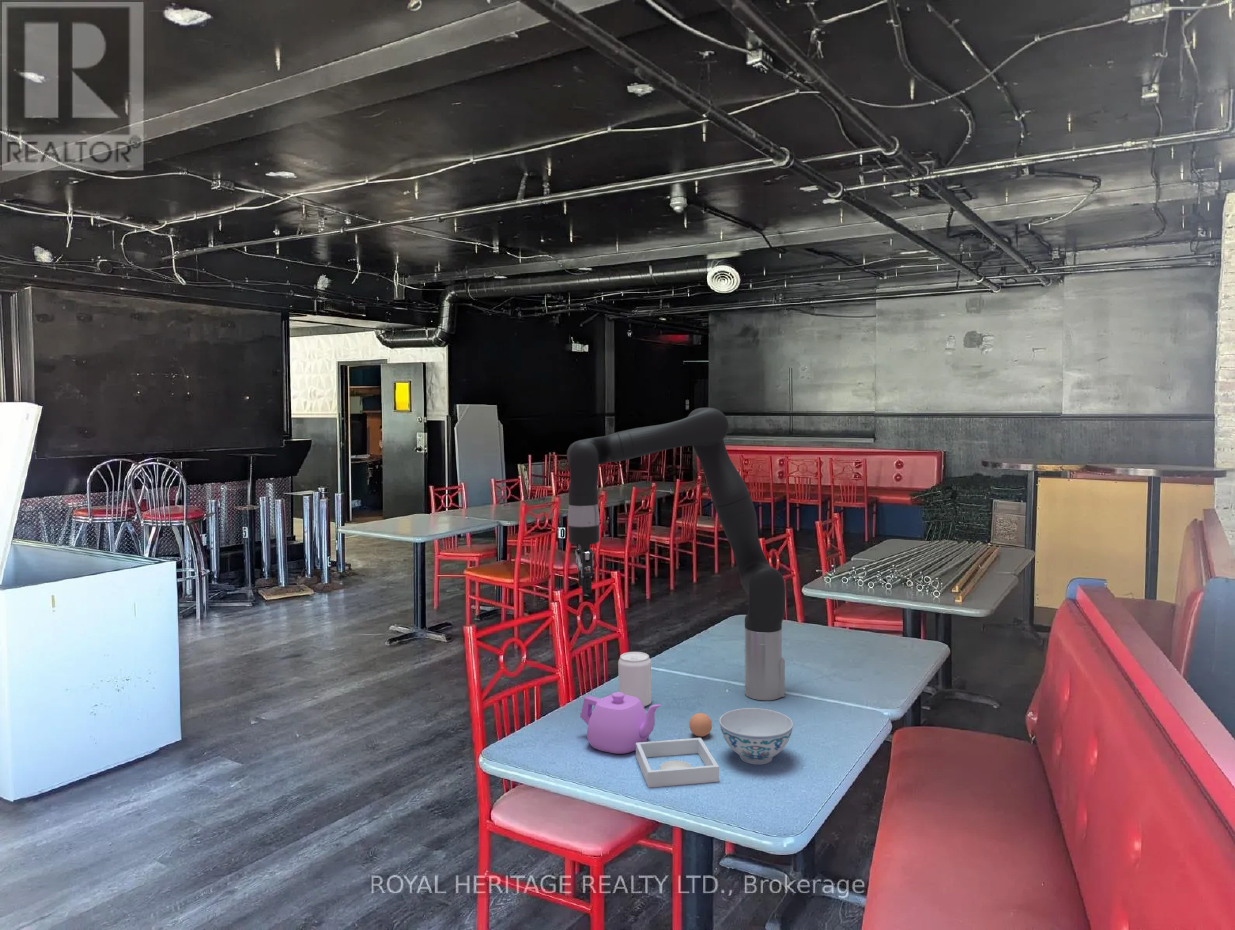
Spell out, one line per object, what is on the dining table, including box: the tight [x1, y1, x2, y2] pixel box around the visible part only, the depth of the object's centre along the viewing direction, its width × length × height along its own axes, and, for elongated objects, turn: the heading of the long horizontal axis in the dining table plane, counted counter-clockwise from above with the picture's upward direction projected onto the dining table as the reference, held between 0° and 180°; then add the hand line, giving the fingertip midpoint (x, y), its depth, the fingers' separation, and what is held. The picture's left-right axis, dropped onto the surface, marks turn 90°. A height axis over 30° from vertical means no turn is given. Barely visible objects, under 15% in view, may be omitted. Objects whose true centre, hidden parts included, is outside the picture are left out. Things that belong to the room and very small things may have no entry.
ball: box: [688, 712, 713, 738], centre depth 177 cm, size 5×5×5 cm
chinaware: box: [718, 707, 794, 765], centre depth 165 cm, size 15×15×8 cm
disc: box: [659, 759, 693, 770], centre depth 161 cm, size 6×6×1 cm
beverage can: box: [617, 651, 652, 708], centre depth 197 cm, size 8×8×12 cm
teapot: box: [580, 691, 662, 755], centre depth 173 cm, size 13×20×11 cm
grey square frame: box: [635, 737, 720, 788], centre depth 161 cm, size 14×14×3 cm
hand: (584, 589), depth 193 cm, fingers open, 8 cm apart
